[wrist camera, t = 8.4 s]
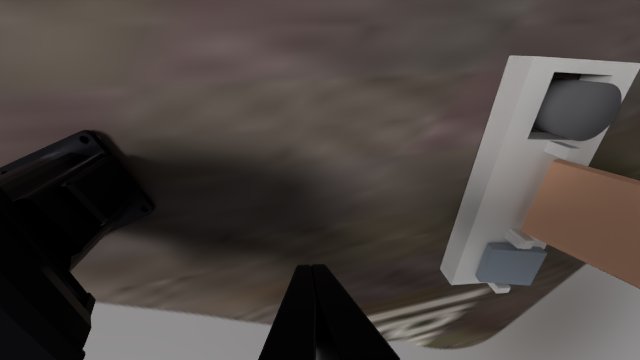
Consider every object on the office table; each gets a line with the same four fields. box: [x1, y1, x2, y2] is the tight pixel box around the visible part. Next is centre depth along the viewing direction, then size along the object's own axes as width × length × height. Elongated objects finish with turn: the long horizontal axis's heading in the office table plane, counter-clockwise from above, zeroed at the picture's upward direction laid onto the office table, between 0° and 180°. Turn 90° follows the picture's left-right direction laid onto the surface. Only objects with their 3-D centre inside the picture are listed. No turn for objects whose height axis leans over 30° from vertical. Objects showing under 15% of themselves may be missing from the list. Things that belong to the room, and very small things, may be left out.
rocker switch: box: [475, 243, 548, 286], centre depth 23 cm, size 4×4×1 cm
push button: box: [532, 78, 622, 141], centre depth 18 cm, size 4×4×3 cm
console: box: [440, 56, 640, 293], centre depth 21 cm, size 8×19×4 cm, turn 177°
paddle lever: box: [520, 159, 640, 289], centre depth 17 cm, size 1×6×10 cm, turn 177°
